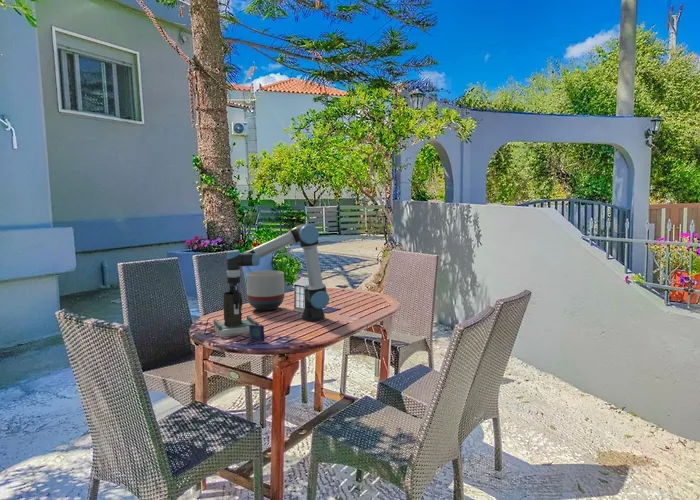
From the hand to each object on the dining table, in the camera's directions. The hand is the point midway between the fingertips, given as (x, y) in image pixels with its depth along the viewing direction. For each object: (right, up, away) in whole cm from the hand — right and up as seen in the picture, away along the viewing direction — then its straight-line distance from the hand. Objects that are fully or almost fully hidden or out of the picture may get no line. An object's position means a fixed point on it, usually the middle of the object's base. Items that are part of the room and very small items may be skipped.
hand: (234, 312), depth 294 cm
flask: (+17, -14, -18) cm, 29 cm away
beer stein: (0, -7, +3) cm, 8 cm away
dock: (0, -12, +1) cm, 12 cm away
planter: (+9, -6, +59) cm, 60 cm away
